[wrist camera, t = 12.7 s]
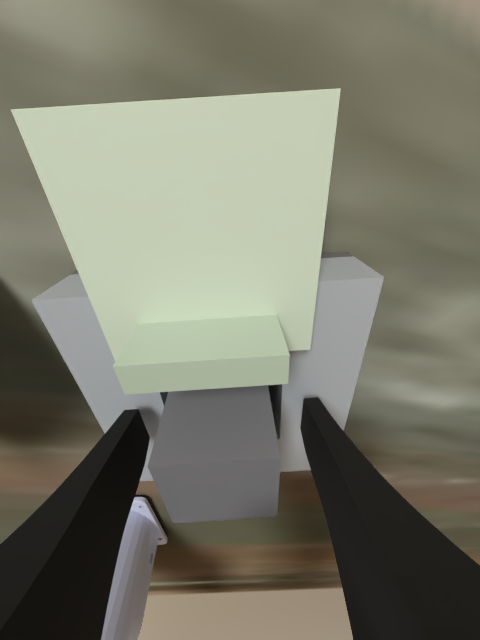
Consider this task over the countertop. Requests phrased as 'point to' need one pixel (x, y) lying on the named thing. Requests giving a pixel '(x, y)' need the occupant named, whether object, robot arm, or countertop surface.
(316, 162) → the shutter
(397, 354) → the countertop surface
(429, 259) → the countertop surface
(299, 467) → the socket
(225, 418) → the plug
